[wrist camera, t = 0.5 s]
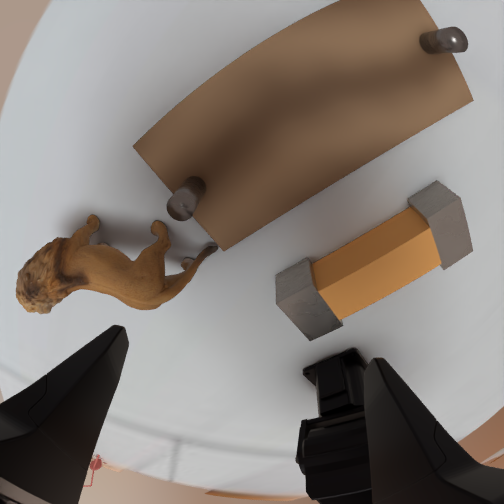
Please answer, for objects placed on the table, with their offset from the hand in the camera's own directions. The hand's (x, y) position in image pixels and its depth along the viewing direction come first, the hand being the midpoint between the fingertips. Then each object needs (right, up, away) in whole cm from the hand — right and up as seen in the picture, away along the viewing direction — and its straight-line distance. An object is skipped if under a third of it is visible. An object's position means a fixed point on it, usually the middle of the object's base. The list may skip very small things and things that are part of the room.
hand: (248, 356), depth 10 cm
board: (+4, +13, +7) cm, 15 cm away
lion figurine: (-10, +4, +13) cm, 17 cm away
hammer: (+9, +4, +12) cm, 16 cm away
